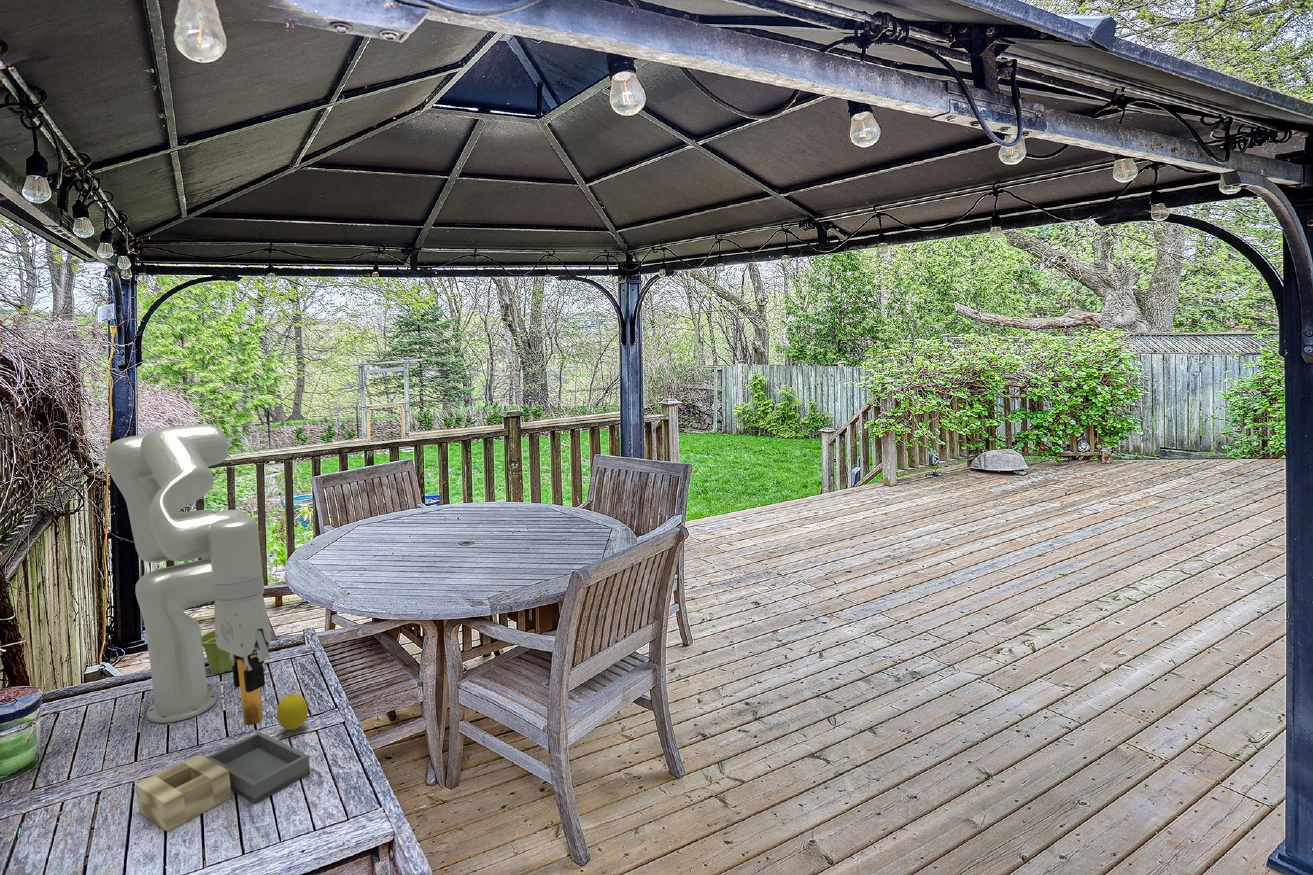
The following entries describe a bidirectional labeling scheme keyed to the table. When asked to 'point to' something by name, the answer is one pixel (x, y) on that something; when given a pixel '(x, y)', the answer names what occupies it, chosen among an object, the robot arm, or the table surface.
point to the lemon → (292, 711)
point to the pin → (249, 698)
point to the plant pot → (215, 654)
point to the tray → (261, 766)
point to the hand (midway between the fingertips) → (249, 685)
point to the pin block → (183, 791)
